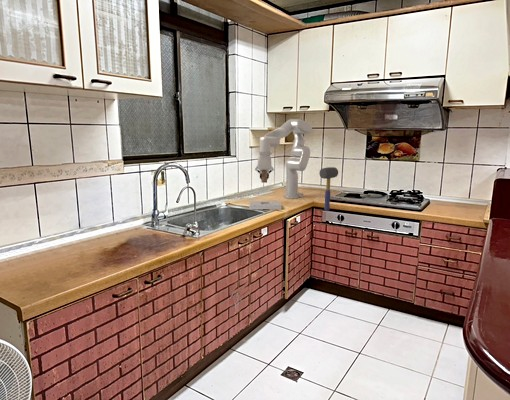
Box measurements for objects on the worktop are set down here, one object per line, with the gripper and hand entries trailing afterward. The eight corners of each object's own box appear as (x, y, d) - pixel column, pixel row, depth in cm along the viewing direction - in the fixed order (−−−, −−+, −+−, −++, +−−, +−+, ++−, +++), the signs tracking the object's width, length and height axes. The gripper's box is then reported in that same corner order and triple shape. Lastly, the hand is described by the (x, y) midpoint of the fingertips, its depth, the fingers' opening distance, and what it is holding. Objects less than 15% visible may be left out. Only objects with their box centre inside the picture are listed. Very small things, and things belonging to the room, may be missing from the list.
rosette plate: (279, 205, 263) (279, 201, 262) (281, 209, 249) (281, 205, 248) (249, 205, 262) (249, 200, 261) (249, 209, 248) (249, 205, 247)
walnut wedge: (266, 181, 268) (267, 169, 266) (267, 182, 264) (267, 170, 262) (261, 181, 267) (261, 169, 266) (261, 182, 263) (261, 170, 262)
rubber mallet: (324, 213, 240) (327, 168, 234) (316, 211, 246) (318, 167, 240) (336, 210, 248) (339, 167, 242) (328, 208, 254) (330, 166, 248)
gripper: (275, 154, 265) (275, 178, 269) (253, 153, 265) (252, 178, 269) (276, 154, 258) (276, 180, 262) (253, 154, 257) (253, 179, 261)
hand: (264, 179), depth 265 cm, fingers closed on walnut wedge, 4 cm apart
